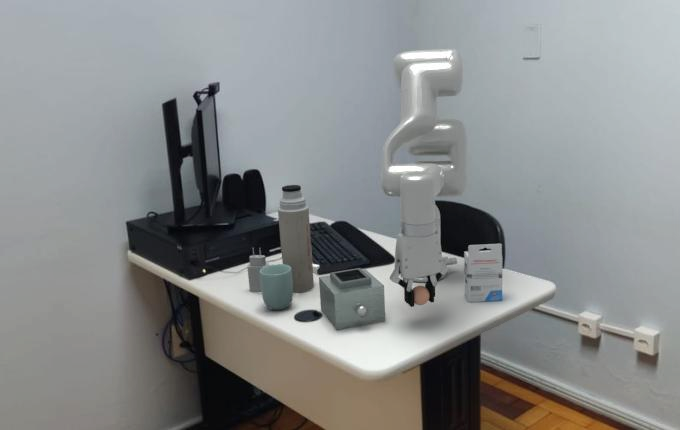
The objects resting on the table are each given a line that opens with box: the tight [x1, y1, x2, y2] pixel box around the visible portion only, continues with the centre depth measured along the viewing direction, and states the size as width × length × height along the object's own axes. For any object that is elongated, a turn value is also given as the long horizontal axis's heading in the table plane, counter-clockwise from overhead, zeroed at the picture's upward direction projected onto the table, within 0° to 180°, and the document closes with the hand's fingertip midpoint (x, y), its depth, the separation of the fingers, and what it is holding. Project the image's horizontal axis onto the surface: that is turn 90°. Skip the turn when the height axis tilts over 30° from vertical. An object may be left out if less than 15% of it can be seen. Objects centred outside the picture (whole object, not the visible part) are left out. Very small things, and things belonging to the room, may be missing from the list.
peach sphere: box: [412, 285, 430, 306], centre depth 142 cm, size 4×4×4 cm
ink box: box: [463, 243, 503, 303], centre depth 152 cm, size 8×5×15 cm, turn 90°
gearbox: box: [318, 267, 386, 331], centre depth 146 cm, size 12×14×10 cm
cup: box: [260, 263, 294, 311], centre depth 154 cm, size 8×8×10 cm
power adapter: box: [247, 247, 270, 293], centre depth 165 cm, size 3×5×12 cm, turn 80°
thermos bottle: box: [277, 184, 315, 294], centre depth 163 cm, size 8×8×28 cm
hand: (420, 301), depth 142 cm, fingers closed on peach sphere, 4 cm apart
